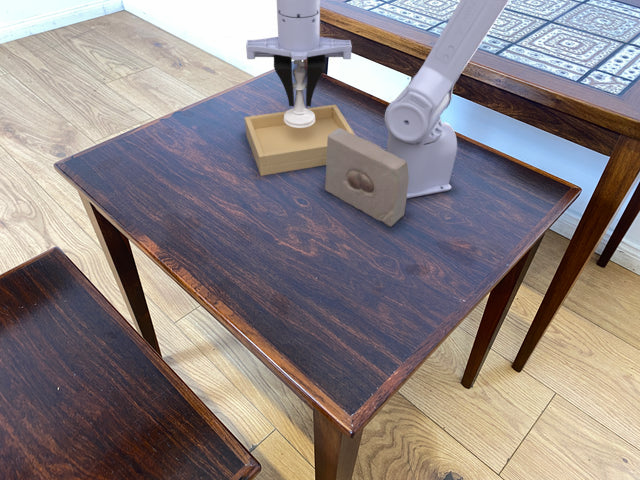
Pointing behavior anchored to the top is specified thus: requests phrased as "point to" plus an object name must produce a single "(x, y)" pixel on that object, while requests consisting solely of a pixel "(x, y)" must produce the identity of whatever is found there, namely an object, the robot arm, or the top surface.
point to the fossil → (366, 176)
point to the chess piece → (299, 101)
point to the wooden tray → (292, 140)
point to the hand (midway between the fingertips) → (299, 103)
